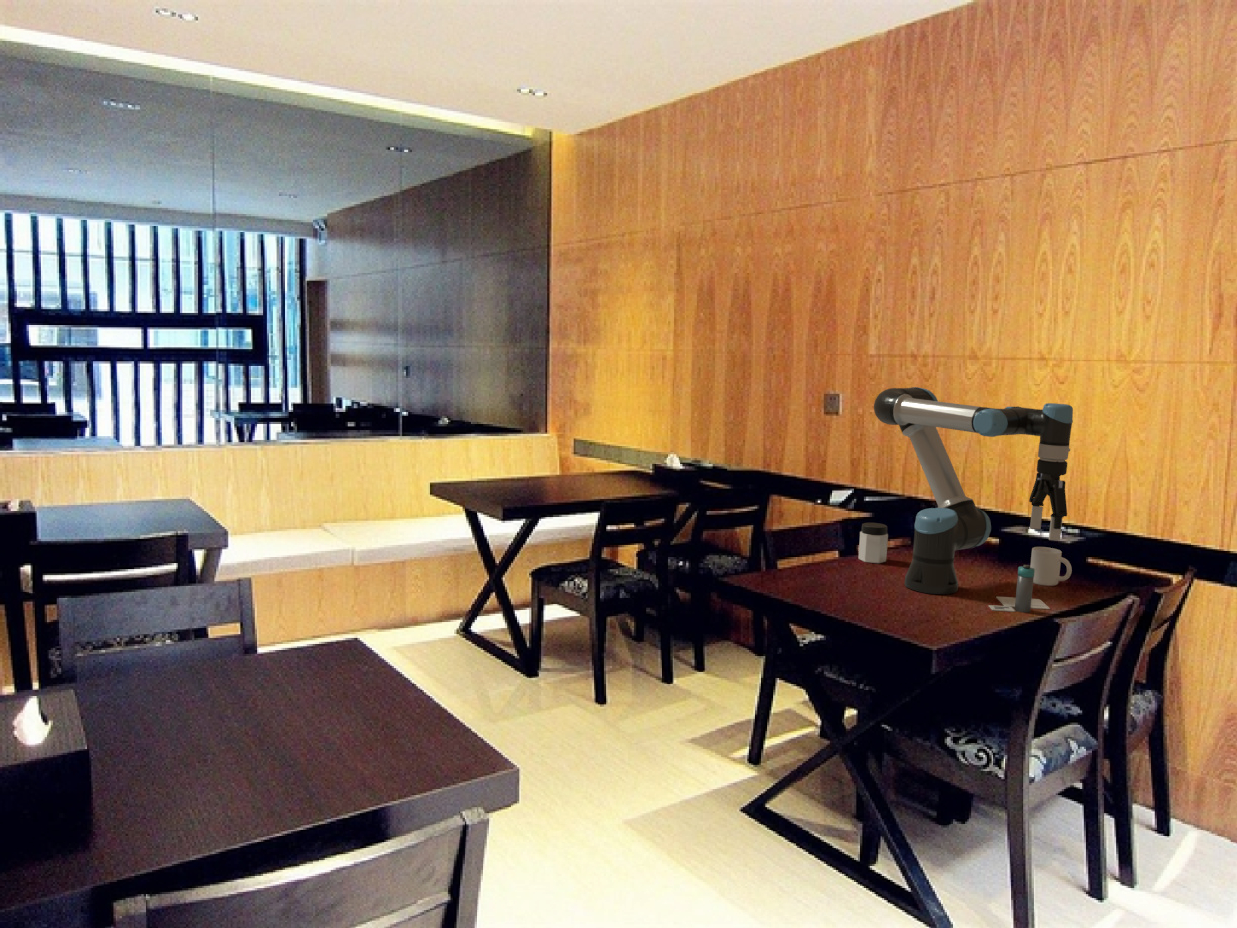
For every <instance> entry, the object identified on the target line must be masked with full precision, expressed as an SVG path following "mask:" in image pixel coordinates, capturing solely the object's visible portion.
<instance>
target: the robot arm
mask: <svg viewBox="0 0 1237 928" xmlns="http://www.w3.org/2000/svg"><path fill="white" fill-rule="evenodd" d="M873 412H874V414H875V416H876V418H877V419H878V420H879V421H880V422H882V423H883V424H885V425H890V426H898V427H899V429H900V431H901V433H902V435H903V436H904V437H905V436H906V437H908V438H909V440H910V442H911V444H912V446H913V447H912V448H913V449H914V451H915V454H916V457H917V459H918V462H919V464H920V465H921V468H922V471H923V473H924V476H925V478H926V480H927V482H928V485H929V487H930V490H931V492H932V495H933V497H934V499H935V501H936V504H937V507H935V508H934V507H931V508H925V509H922V510H920V511H919V512H917V514H916V516H915V522H914V533H913V534H914V535H913V549H912V560H911V563H910V565H909V567H908V570H907V572H906V574H905V576H904V577H905V578H904V586H905V588H908V589H910V590H912V591H916V592H918V593H924V594H930V595H931V594H934V595H949V594H950V595H951V594H955V593H957V592H958V591H959V581H958V576H957V573H956V569H955V565H954V564H955V563H954V561H955V552H956V551H959V550H966V549H973V548H976V547H979V546H981V545H983V544H985V542H986V541H987V540H988V539H989V537H990V534H991V531H992V525H991V519H990V517H989V515H988V514H987V513H986V512H985V510H981V509H980V508H977V506H976V504H975V502H974V500H973V498H971V497H968V496H967V495H966V494H965V492H964V490H963V486H962V485H961V482H960V480H959V478H958V476H957V472H956V471H955V469H954V466H953V464H952V462H951V459H950V456H949V454H948V453H947V450H946V447H945V445H944V443H943V441H942V438H941V436H940V434H939V431H938V429H937V428H940V429H941V428H942V429H947V430H948V429H949V430H953V431H954V430H955V431H961V432H968V433H974V434H975V433H976V434H979V435H980V436H982V437H989V438H994V437H998V436H999V437H1001V436H1017V435H1025V436H1026V435H1027V436H1035V437H1039V443H1038V452H1037V453H1038V454H1037V457H1038V458H1039V459H1038V460H1037V463H1036V477H1035V481H1034V484H1033V488H1032V490H1031V493H1030V496H1029V498H1028V499H1029V500H1028V501H1029V503H1031V513H1030V515H1031V516H1030V525H1029V530H1030V529H1032V530H1041V527H1042V519H1043V509H1044V506H1045V504H1044V502H1045V499H1046V498H1047V496H1048V497H1049V503H1050V507H1051V512H1052V513H1051V514H1050V524H1049V533H1048V540H1049V541H1061V533H1062V525H1063V518H1065V517H1067V516H1068V509H1067V508H1068V506H1067V497H1066V481H1065V480H1061V479H1060V478H1061V476H1065V475H1066V474H1067V469H1068V462H1067V461H1066V460H1068V459H1069V452H1071V448H1070V441H1071V433H1072V427H1073V426H1072V425H1073V422H1074V420H1073V418H1074V417H1073V414H1074V409H1073V407H1072V405H1070V404H1065V403H1053V402H1051V403H1050V402H1049V403H1045V404H1044V405H1043V407H1042V409H1038V408H1037V409H1036V408H1029V407H1022V406H1005V408H995V407H993V408H992V407H987V406H985V407H984V406H976V405H969V404H960V403H954V402H947V401H945V402H944V401H939V400H938V398H937V396H936V395H935V394H934V393H933V392H932V391H931V390H930V389H927V388H923V387H918V386H916V387H914V386H911V387H898V388H897V387H891V388H886V389H884V390H883V391H881V392H880V393H879V394H878V395H877V396H876V398H875V400H874V403H873Z"/></svg>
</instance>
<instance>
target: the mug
mask: <svg viewBox="0 0 1237 928" xmlns="http://www.w3.org/2000/svg"><path fill="white" fill-rule="evenodd" d="M1062 553H1063V552H1062V551H1061V550H1060V549H1057V548H1053V547H1052V548H1051V547H1046V546H1034V547H1032V548H1031V555H1030V556H1031V557H1030V564H1029V565H1030V567H1031V568H1034V569H1035V572H1034V580H1033V584H1035V585H1039V586H1047V587H1054V586H1057V585H1059V582H1065V581H1067V580H1068V579H1069V578H1070V577H1071V575H1072V573H1073V572H1072V571H1073V570H1072V565H1071V563H1070V561H1069V560H1068V559H1066V558H1065V557H1062ZM1061 563H1063V564H1064V565H1065V566H1066V573H1065V574H1064V576H1061V575H1060V573H1061V572H1060V571H1061V565H1062V564H1061Z"/></svg>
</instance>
